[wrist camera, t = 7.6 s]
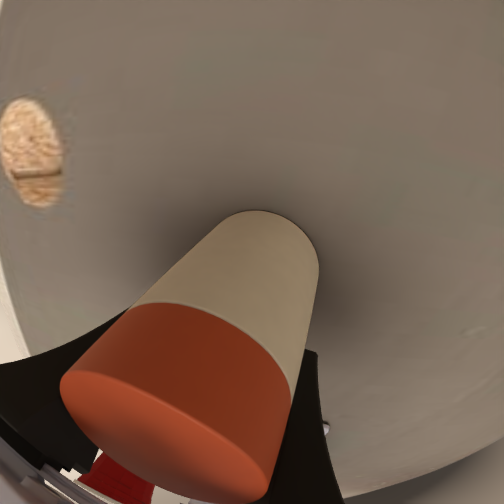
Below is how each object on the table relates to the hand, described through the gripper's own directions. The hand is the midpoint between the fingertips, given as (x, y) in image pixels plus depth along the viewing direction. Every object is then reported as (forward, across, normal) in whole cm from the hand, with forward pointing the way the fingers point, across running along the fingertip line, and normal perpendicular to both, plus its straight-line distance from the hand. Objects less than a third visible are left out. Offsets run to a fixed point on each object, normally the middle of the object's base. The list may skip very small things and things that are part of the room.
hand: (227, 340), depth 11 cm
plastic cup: (+4, +9, +33) cm, 35 cm away
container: (+4, 0, -1) cm, 4 cm away
